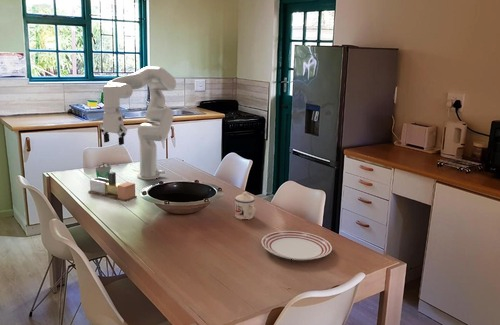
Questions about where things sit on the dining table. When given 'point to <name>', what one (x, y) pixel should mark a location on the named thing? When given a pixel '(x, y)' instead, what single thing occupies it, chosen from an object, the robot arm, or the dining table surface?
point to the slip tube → (112, 183)
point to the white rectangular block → (98, 185)
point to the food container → (103, 170)
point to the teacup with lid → (244, 206)
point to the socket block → (126, 190)
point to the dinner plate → (296, 245)
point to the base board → (112, 196)
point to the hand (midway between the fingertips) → (114, 143)
